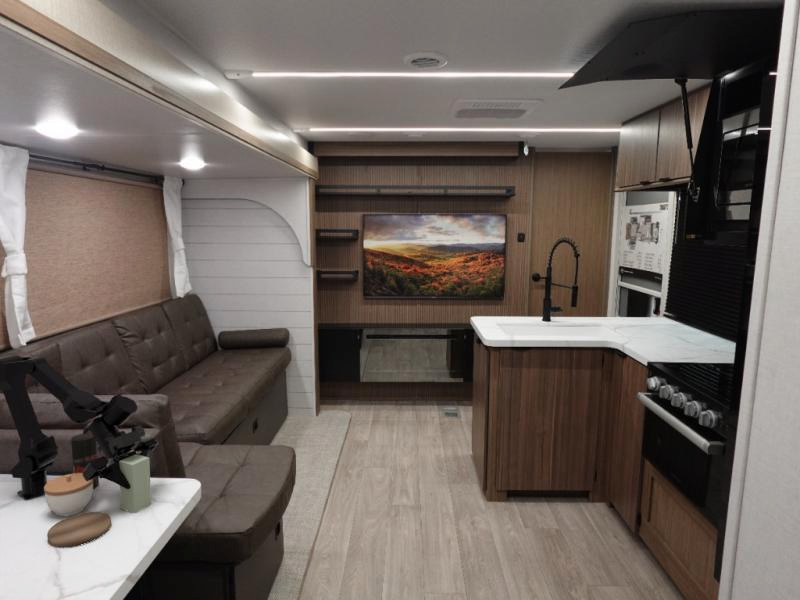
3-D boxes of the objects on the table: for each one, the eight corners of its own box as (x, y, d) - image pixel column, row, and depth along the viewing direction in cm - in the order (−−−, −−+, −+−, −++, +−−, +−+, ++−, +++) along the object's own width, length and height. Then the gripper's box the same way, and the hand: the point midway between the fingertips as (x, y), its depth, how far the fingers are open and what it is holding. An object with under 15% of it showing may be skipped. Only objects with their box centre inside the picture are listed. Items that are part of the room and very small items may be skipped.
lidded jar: (71, 523, 125) (68, 487, 124) (35, 518, 127) (32, 483, 126) (104, 502, 136) (102, 468, 135) (70, 497, 138) (68, 465, 137)
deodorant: (103, 484, 145) (100, 435, 144) (83, 494, 140) (79, 442, 138) (90, 480, 148) (87, 431, 146) (69, 489, 142) (66, 438, 141)
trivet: (38, 534, 120) (38, 529, 120) (96, 511, 131) (96, 506, 130) (61, 554, 113) (61, 548, 112) (121, 528, 123) (120, 522, 123)
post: (121, 508, 132) (119, 461, 131) (138, 500, 137) (136, 454, 135) (134, 512, 130) (132, 464, 129) (151, 504, 135) (149, 457, 133)
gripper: (87, 431, 124) (119, 482, 121) (152, 409, 141) (182, 453, 138) (69, 455, 128) (99, 506, 125) (134, 431, 145) (163, 475, 142)
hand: (138, 483), depth 132 cm, fingers closed on post, 5 cm apart
